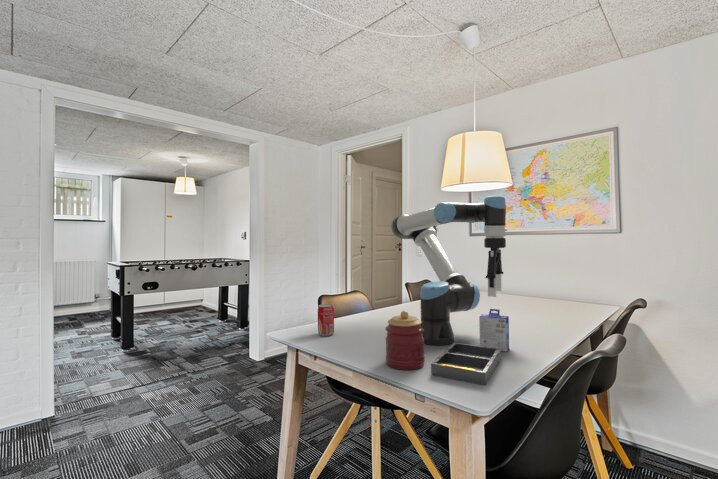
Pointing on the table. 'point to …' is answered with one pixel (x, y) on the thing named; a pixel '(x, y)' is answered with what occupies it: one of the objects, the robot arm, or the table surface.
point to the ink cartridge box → (494, 330)
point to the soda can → (325, 320)
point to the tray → (467, 363)
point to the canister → (405, 342)
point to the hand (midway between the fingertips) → (494, 293)
